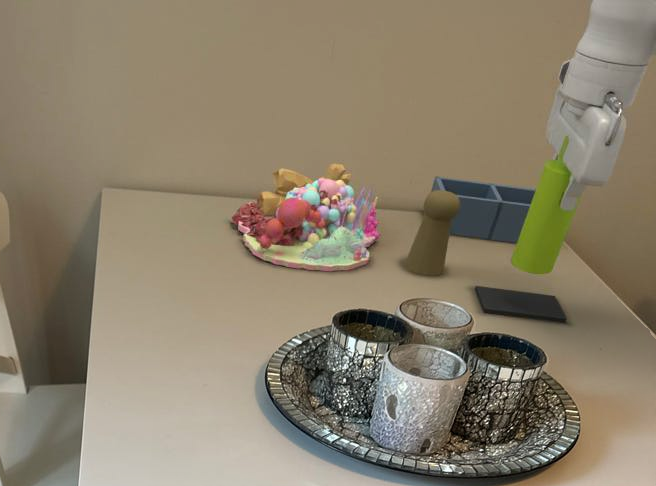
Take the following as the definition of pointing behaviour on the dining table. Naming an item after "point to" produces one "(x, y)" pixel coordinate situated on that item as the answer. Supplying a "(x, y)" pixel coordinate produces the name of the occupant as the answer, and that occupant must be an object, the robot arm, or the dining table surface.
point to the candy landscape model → (310, 222)
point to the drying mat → (520, 304)
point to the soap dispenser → (545, 220)
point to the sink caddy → (487, 208)
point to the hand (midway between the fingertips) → (559, 199)
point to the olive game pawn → (433, 234)
